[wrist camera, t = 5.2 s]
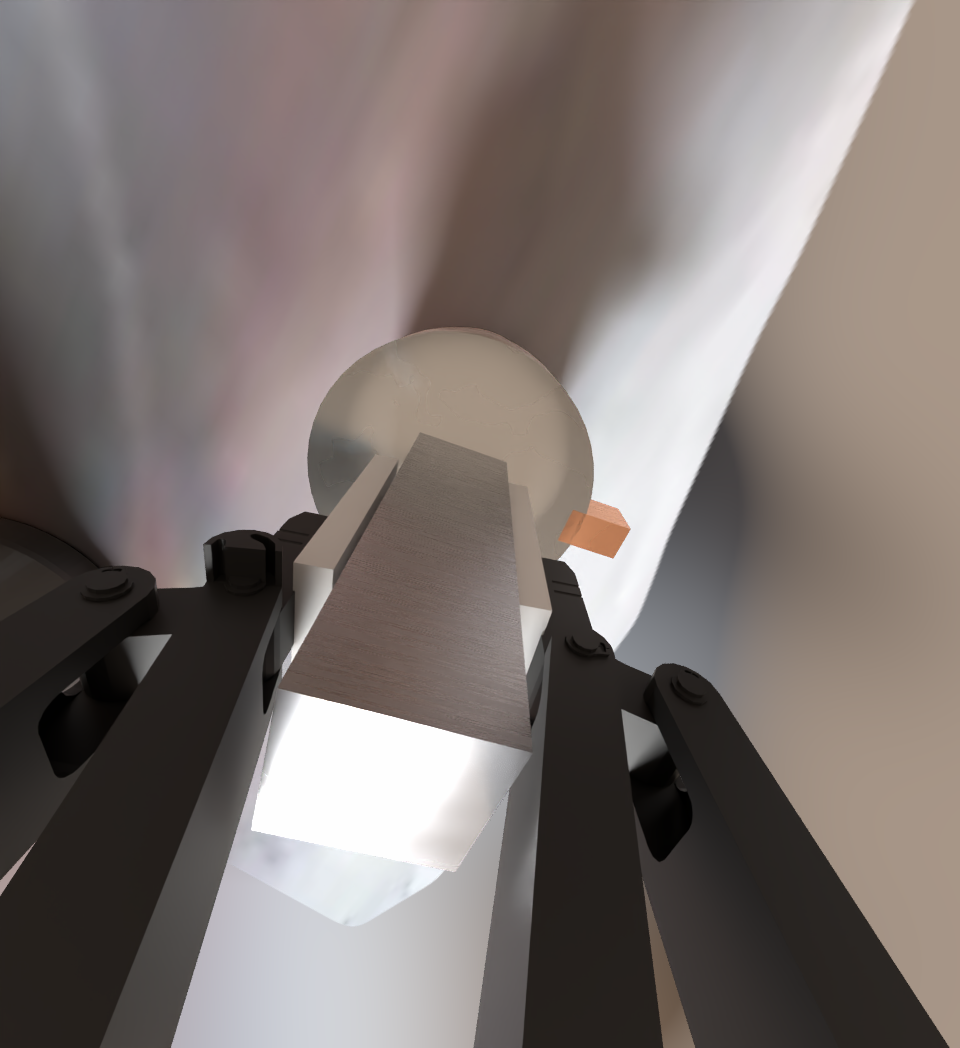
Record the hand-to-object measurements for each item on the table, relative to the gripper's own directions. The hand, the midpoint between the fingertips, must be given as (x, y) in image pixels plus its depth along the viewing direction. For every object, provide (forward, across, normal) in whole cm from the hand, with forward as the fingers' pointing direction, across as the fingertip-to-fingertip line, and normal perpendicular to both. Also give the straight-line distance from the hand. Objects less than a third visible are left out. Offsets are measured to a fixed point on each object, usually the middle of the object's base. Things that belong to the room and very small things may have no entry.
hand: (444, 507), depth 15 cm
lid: (+4, +1, 0) cm, 4 cm away
